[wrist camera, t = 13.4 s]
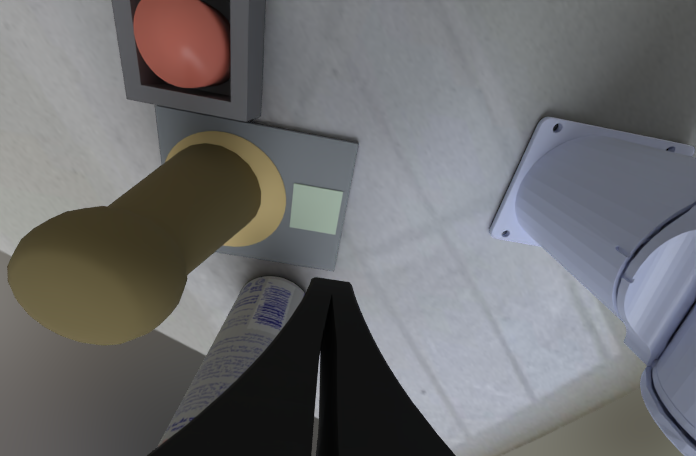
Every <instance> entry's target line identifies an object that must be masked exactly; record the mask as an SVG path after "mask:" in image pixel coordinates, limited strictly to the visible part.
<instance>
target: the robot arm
mask: <svg viewBox="0 0 696 456" xmlns="http://www.w3.org/2000/svg"><path fill="white" fill-rule="evenodd" d="M556 124H558V129H557V130H556V131H554V132H553V127H554V126H555V125H556ZM667 148H669V149H668V151H666V149H667ZM694 152H695V148H694V147H693V146H691V145H687V144H682V143H677V142H672V141H667V140H662V139H658V138H653V137H648V136H643V135H638V134H633V133H628V132H623V131H618V130H613V129H608V128H603V127H598V126H593V125H589V124H584V123H579V122H574V121H569V120H564V119H559V118H554V117H545V118H543V119H541V120H540V121H539V123H538V125H537V127H536V129H535V131H534V133H533V136H532V138H531V140H530V142H529V144H528V147H527V149H526V151H525V153H524V155H523V157H522V160H521V162H520V164H519V166H518V168H517V171H516V173H515V175H514V177H513V179H512V182H511V184H510V186H509V188H508V190H507V192H506V195H505V197H504V199H503V201H502V203H501V206H500V208H499V210H498V212H497V214H496V217H495V219H494V221H493V223H492V225H491V227H490V230H489V233H490V235H491V236H492V237H493V238H495V239H501V240H506V241H512V242H518V243H524V244H529V245H535V246H541V247H542V248H543V249H544V250H546V251H547V252H548V253H549V254H550V255H551V256H552V257H553V258H554V259H555V260H556V261H557V262H559V263H560V264H561V265H562V266H563V267H564V268H565V269H566V270H567V271H568V272H569V273H570V274H571V275H573V276H574V277H575V278H576V279H577V280H578V281H579V282H580V283H581V284H582V285H583V286H584V287H586V288H587V289H588V290H589V291H590V292H591V293H592V294H593V295H594V296H595V297H596V298H597V299H599V300H600V301H601V302H602V303H603V304H604V305H605V306H606V307H607V308H608V309H609V310H610V311H612V312H613V313H614V314H615V315H616V316H617V317H618V318H619V319H620V320H621V321H622V322H623V323H624V324H625V326H626V329H627V333H626V337H625V339H624V343H625V344H626V345H627V346H628V347H629V348H630V349H631V350H632V351H633V352H634V353H635V354H636V355H637V356H638V357H639V358H640V359H641V360H642V361H643V362H644V363H645V364H646V365H647V367H646V368H645V370H644V371H643V373H642V376H641V382H640V387H641V394H642V397H643V400H644V402H645V405H646V407H647V409H648V411H649V412H650V414H651V416H652V418H653V419H654V421H655V422H656V423H657V425H658V426H659V427H660V429H661V430H662V431H663V433H664V434H665V435H666V437H667V438H668V439H669V440H670V441H671V442H672V443H673V444H674V445H675V447H676V448H677V449H678V450H679V451H680V452H681V453H682V454H683V455H684V456H696V158H695V157H692V156H693V154H694ZM504 231H507V232H506V234H502V233H503V232H504ZM320 351H321V354H320ZM319 355H320V399H319V429H318V440H317V450H316V456H455V454H454V453H453V452H452V451H451V450H450V448H449V447H448V446H447V445H446V444H445V443H444V441H443V440H442V439H441V438H440V437H439V435H438V434H437V433H436V432H435V431H434V429H433V428H432V427H431V425H430V424H429V423H428V421H427V420H426V419H425V418H424V416H423V415H422V414H421V412H420V411H419V410H418V408H417V407H416V406H415V405H414V403H413V402H412V401H411V399H410V398H409V396H408V395H407V393H406V392H405V391H404V389H403V388H402V386H401V385H400V383H399V382H398V380H397V379H396V377H395V376H394V374H393V372H392V371H391V369H390V368H389V366H388V364H387V363H386V361H385V359H384V357H383V356H382V354H381V352H380V350H379V348H378V347H377V345H376V343H375V341H374V339H373V337H372V335H371V333H370V331H369V329H368V326H367V324H366V322H365V320H364V318H363V315H362V313H361V311H360V308H359V305H358V303H357V300H356V297H355V294H354V291H353V288H352V285H351V284H350V282H344V281H337V280H331V279H324V278H317V277H314V278H313V279H311V282H310V285H309V287H308V289H307V291H306V293H305V295H304V297H303V299H302V300H301V302H300V304H299V305H298V307H297V308H296V310H295V311H294V313H293V314H292V316H291V317H290V319H289V320H288V322H287V323H286V324H285V326H284V327H283V328H282V329H281V331H280V332H279V333H278V335H277V336H276V337H275V339H274V340H273V341H272V342H271V343H270V345H269V346H268V347H267V348H266V349H265V350H264V352H263V353H262V354H261V355H260V356H259V357H258V358H257V359H256V360H255V362H254V363H253V364H252V365H251V366H250V367H249V368H248V369H247V370H246V371H245V372H244V373H243V374H242V375H241V376H240V377H239V378H238V379H237V380H236V381H235V382H234V383H233V384H232V385H231V386H230V387H229V388H228V389H227V390H225V391H224V392H223V393H222V394H221V395H220V396H219V397H218V398H217V399H215V400H214V401H213V402H212V403H211V404H210V405H209V406H207V407H206V408H205V409H204V410H203V411H202V412H201V413H199V414H198V415H197V416H196V417H195V418H194V419H193V420H191V421H190V422H189V423H188V424H187V425H185V426H184V427H183V428H182V429H180V430H179V431H178V432H177V433H175V434H174V435H173V436H171V437H170V438H169V439H168V440H166V441H165V442H164V443H162V444H161V445H160V446H159V447H157V448H156V449H155V450H153V451H152V452H151V453H150V454H149V455H147V456H311V451H312V437H313V423H314V411H315V398H316V387H317V375H318V364H319Z"/></svg>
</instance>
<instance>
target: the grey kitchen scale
mask: <svg viewBox="0 0 696 456" xmlns="http://www.w3.org/2000/svg"><path fill="white" fill-rule="evenodd" d="M155 112H156V121H157V130H158V138H159V147H160V155H161V164H162V165H163V164H164V163H165V162H166V161H168V160H169V159H170V158H172V157H173V156H174V155H176V154H177V153H178V152H180V151H181V150H183V149H185V148H187V147H188V146H190V145H195V144H202V143H208V144H214V145H219V146H223V147H225V148H227V149H229V150H231V151H233V152H235V153H236V154H238V155H239V156H240V157H241V158H242V159H243V160H244V161H245V162H247V163H248V164H249V166H250V167H251V169H252V170H253V172H254V173H255V175H256V177H257V179H258V182H259V186H260V189H261V205H260V208H259V210H258V212H257V215H256V216H255V217H254V218H253V219H252V220H251V222H250V223H249V224H248V225H246V226H245V227H244V228H243V229H242V230H240V231H239V232H238V233H237V234H236V235H234V236H233V237H232V238H231V239H230V240H228V241H227V242H226V243H225V244H224V245H222V246H221V247H220V248H219V249H218V250H216V251H215V252H218V253H225V254H231V255H237V256H243V257H249V258H255V259H262V260H268V261H274V262H280V263H286V264H292V265H298V266H305V267H311V268H317V269H323V270H329V271H334V269H335V264H336V258H337V253H338V248H339V243H340V238H341V233H342V227H343V222H344V217H345V212H346V207H347V202H348V196H349V191H350V186H351V181H352V176H353V170H354V165H355V160H356V155H357V150H358V145H359V143H356V142H351V141H345V140H340V139H335V138H329V137H324V136H319V135H314V134H308V133H303V132H298V131H293V130H287V129H282V128H277V127H271V126H266V125H261V124H256V123H250V122H245V121H239V120H234V119H229V118H224V117H218V116H213V115H208V114H203V113H197V112H192V111H187V110H181V109H176V108H171V107H166V106H160V105H157V106H155Z"/></svg>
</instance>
